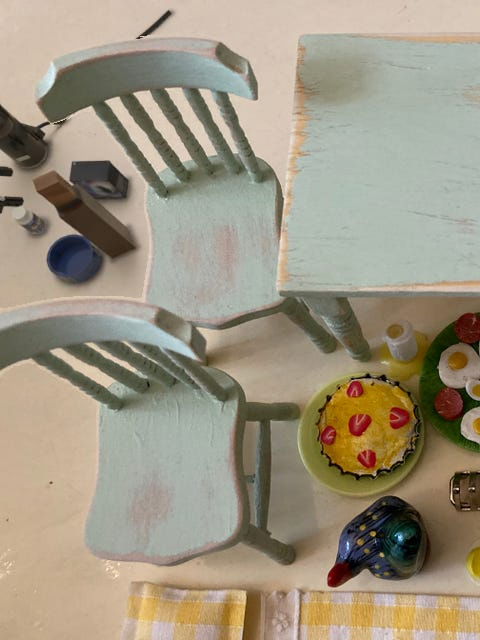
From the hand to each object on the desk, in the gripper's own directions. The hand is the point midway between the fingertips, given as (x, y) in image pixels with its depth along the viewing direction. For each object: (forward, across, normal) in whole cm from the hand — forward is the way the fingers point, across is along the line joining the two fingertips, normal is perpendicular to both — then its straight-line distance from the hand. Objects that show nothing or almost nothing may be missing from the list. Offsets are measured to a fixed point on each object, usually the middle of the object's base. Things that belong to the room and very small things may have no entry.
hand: (17, 186), depth 158 cm
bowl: (+20, 0, +29) cm, 35 cm away
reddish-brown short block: (+12, 0, +4) cm, 12 cm away
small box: (+31, +18, +19) cm, 40 cm away
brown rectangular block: (+28, 0, +21) cm, 35 cm away
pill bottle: (+15, +16, +34) cm, 41 cm away
